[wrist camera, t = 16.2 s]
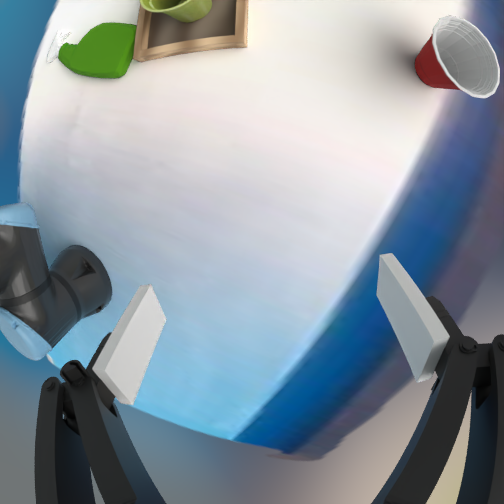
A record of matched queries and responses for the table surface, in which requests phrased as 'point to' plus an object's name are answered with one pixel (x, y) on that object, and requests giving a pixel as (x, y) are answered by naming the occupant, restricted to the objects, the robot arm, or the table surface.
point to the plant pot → (179, 8)
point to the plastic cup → (458, 59)
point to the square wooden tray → (191, 31)
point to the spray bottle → (97, 51)
